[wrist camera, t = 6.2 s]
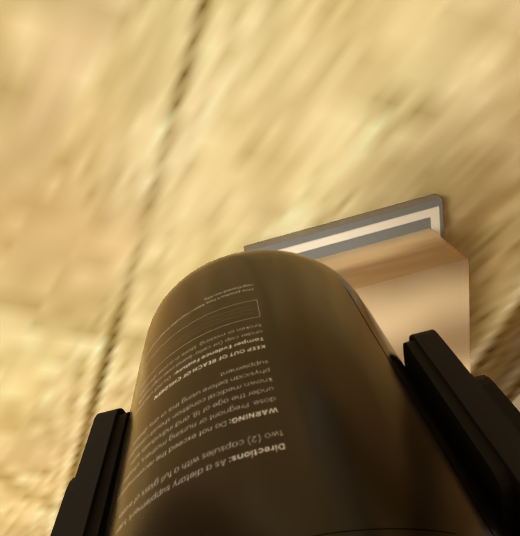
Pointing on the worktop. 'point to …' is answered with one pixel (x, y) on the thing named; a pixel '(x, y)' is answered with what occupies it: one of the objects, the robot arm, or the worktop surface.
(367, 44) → the worktop surface
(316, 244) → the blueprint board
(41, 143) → the worktop surface
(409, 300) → the oak plinth
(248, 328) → the supplement bottle
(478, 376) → the robot arm
